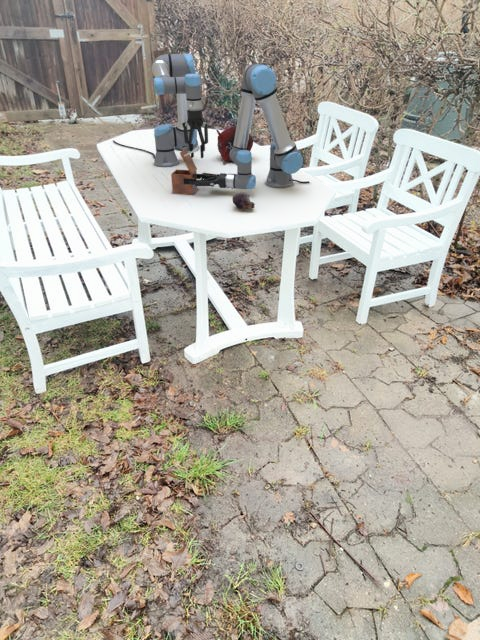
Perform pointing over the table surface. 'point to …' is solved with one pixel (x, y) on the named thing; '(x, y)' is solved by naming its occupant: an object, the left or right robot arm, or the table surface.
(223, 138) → the decorative skull
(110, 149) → the table surface
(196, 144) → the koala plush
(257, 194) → the table surface
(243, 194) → the rock
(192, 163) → the lid
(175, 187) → the chest
